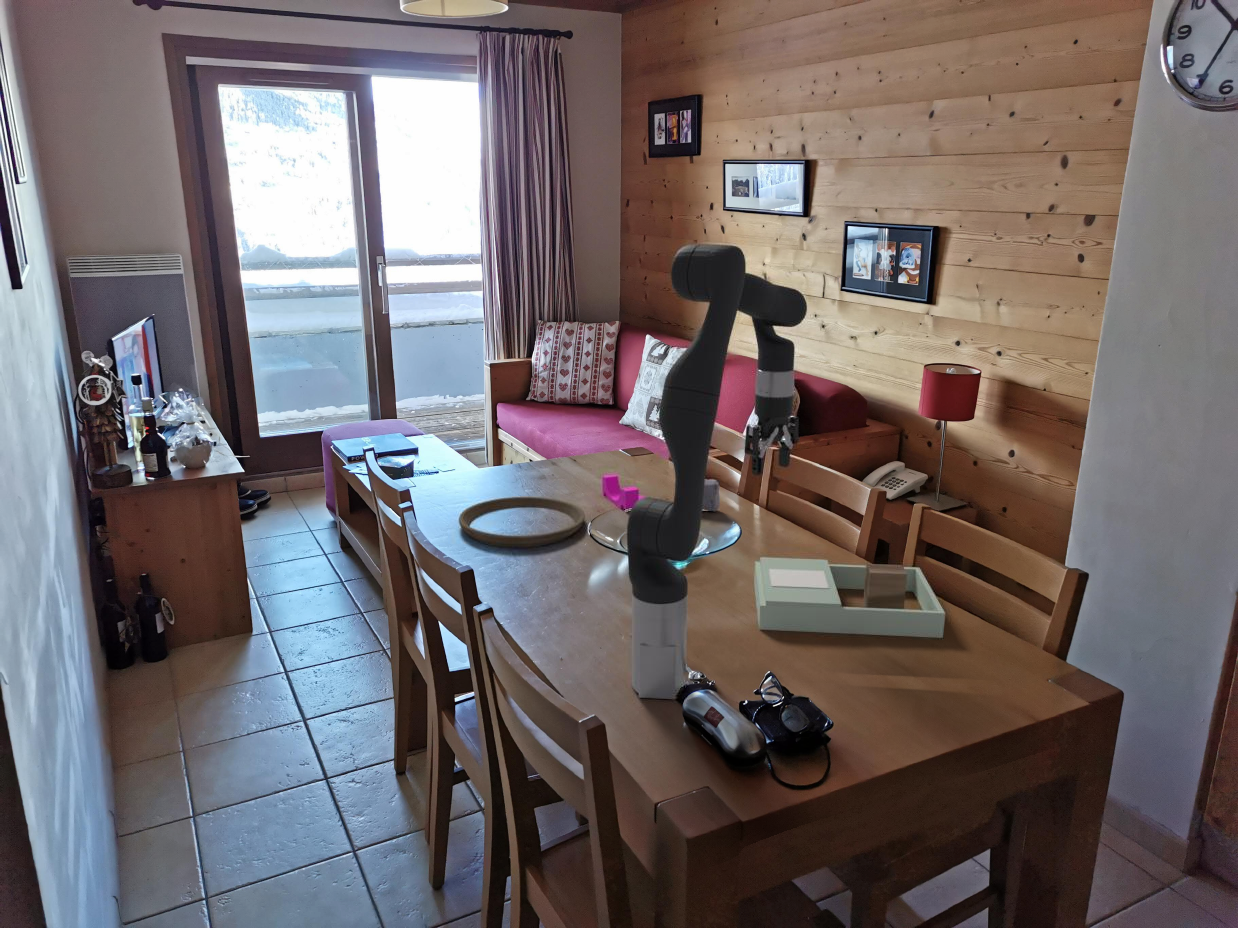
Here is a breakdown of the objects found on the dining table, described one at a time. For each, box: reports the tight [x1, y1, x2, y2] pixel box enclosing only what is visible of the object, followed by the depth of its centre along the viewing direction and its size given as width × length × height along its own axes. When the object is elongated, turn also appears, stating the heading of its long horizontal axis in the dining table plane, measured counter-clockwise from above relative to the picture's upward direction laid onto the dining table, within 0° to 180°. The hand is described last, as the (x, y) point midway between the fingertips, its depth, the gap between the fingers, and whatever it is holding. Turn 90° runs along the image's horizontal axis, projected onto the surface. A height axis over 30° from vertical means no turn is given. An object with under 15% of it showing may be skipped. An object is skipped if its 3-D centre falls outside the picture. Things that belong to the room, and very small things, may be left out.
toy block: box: [601, 474, 645, 510], centre depth 239 cm, size 15×6×8 cm, turn 24°
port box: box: [753, 556, 946, 639], centre depth 179 cm, size 22×34×6 cm, turn 84°
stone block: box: [702, 478, 721, 513], centre depth 233 cm, size 12×5×10 cm, turn 62°
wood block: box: [862, 563, 907, 609], centre depth 178 cm, size 4×7×9 cm, turn 84°
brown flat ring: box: [458, 496, 586, 549], centre depth 222 cm, size 31×31×5 cm
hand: (770, 470), depth 181 cm, fingers open, 8 cm apart
